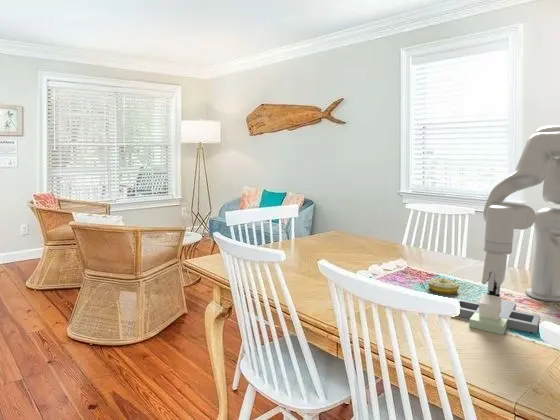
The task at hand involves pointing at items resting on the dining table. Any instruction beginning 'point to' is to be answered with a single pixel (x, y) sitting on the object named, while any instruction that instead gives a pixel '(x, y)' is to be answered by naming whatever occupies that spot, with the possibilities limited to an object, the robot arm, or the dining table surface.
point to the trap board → (505, 319)
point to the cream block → (490, 307)
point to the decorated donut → (443, 286)
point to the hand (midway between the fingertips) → (492, 305)
